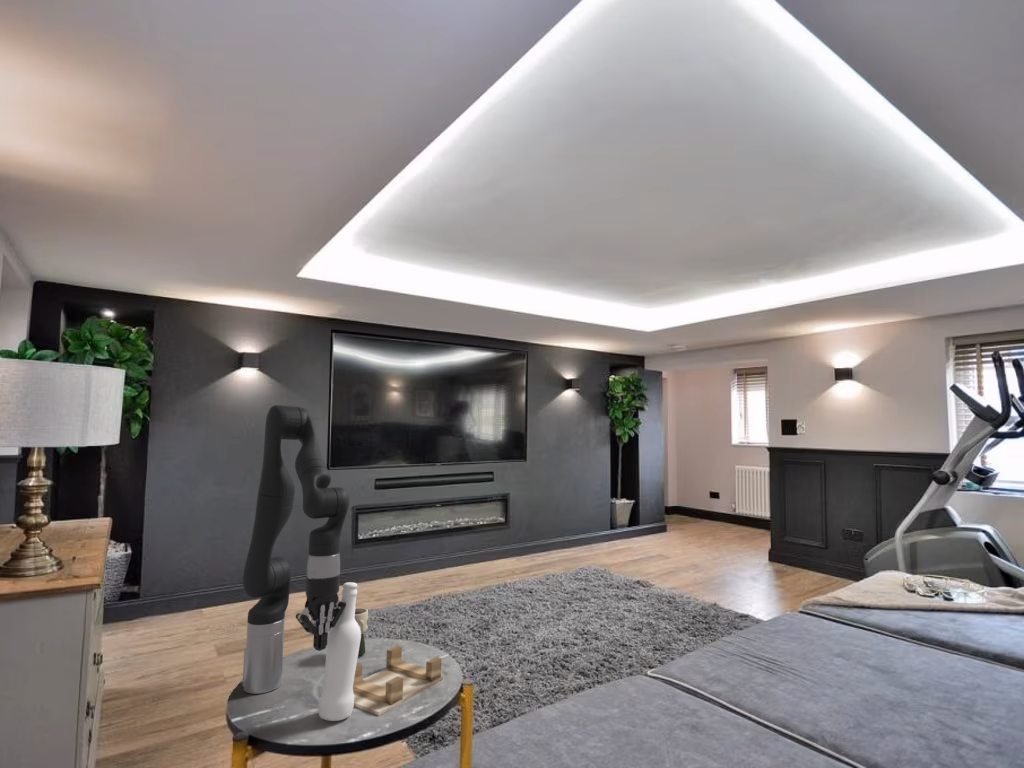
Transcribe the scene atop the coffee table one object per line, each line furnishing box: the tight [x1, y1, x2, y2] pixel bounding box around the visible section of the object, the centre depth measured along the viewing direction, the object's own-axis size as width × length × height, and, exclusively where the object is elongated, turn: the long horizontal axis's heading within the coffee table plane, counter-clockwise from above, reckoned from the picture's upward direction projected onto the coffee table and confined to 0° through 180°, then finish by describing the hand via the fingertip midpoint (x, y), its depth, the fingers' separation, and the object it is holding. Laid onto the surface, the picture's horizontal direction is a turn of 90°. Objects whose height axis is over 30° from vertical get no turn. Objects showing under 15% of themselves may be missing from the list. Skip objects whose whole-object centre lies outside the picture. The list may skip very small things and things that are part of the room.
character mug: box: [354, 607, 369, 656], centre depth 165 cm, size 11×7×13 cm, turn 39°
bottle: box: [317, 581, 361, 722], centre depth 131 cm, size 8×8×30 cm
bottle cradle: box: [353, 645, 444, 717], centre depth 143 cm, size 17×24×6 cm
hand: (320, 649), depth 125 cm, fingers closed
